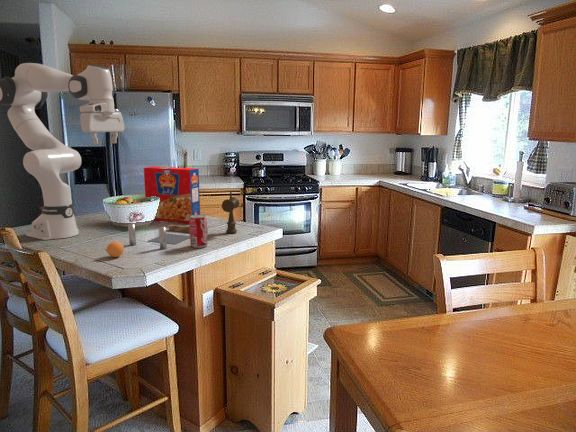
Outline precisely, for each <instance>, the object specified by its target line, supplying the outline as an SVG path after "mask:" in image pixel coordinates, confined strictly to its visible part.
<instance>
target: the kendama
mask: <svg viewBox="0 0 576 432" xmlns="http://www.w3.org/2000/svg"><path fill="white" fill-rule="evenodd" d="M232 194H233V193H232V190H230V191H229V199H224V200H223V201H222V202H221V208H222V211H224V212H226V213H228V219H227V222H226V225H227V227H226V231H225V232H226V233H228V234H235V233H237V232H238V230H237V229H236V224H237V222H236V220H235V217H234V209H237V208H238V207H239V206H240V200H239V198H237V197H235V196H233V195H232ZM232 196H233V197H232Z"/></svg>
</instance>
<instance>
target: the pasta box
mask: <svg viewBox="0 0 576 432" xmlns="http://www.w3.org/2000/svg"><path fill="white" fill-rule="evenodd" d="M199 173H200V170H199V168H194V167H173V166H170V167H169V166H154V165H153V166H147V167H146V166H145V167H143V179H144V181H143V182H144V194H145V195H144V196H145V197H151V196H156V197H159V198H160V202H159V206H158V209H157V213H156V216H155V219H154V221H153V222H160V221H161V222H162V223H171V224H172V223H173V224H181V223H182V225H189V220H190V216H192V215H201V199H200V174H199Z"/></svg>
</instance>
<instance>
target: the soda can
mask: <svg viewBox="0 0 576 432" xmlns="http://www.w3.org/2000/svg"><path fill="white" fill-rule="evenodd" d="M188 226H190V233H189V236H190V238H189V242H190V244H189V245H190V246H191V247H192V248H194V249H204V248H205V247H207V246H208V244H209V241H208V240H209V237H208V233H207V231H208V220H207V218H206V215H205V214H200V215H192V216H190V220H189V224H188Z"/></svg>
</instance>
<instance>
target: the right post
mask: <svg viewBox="0 0 576 432" xmlns="http://www.w3.org/2000/svg"><path fill="white" fill-rule="evenodd" d="M166 227H167V226H165V225H164V226H158V232H159V234H158V235H159V236H158V237H159V238H160V243H159V249H160V250H166V249H167V245H168V244H167V243H166V234H167V233H166V232H167V230H166V229H167V228H166Z"/></svg>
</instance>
